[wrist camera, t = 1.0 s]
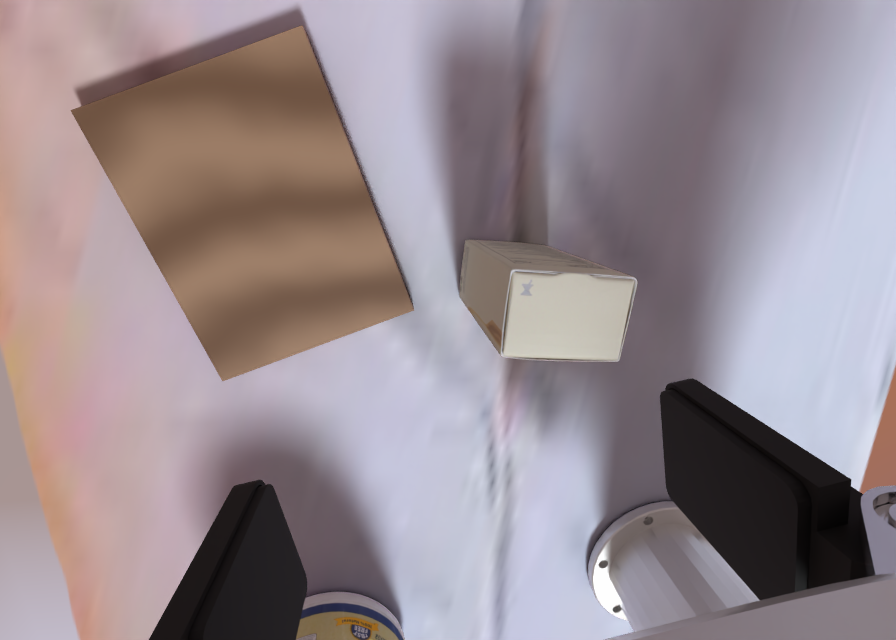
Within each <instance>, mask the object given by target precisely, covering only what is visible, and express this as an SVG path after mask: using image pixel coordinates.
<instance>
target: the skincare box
mask: <svg viewBox="0 0 896 640" xmlns="http://www.w3.org/2000/svg"><path fill="white" fill-rule="evenodd" d="M637 283H638V282H637V279H636V278H635V277H633V276H630V275H628V274H625V273H622V272H619V271H616V270H613V269H611V268H608V267H605V266H602V265H599V264H597V263H594V262H591V261H588V260H586V259H583V258H580V257H577V256H574V255H571V254H569V253H566V252H563V251H560V250H557V249H555V248H552V247H549V246H546V245H539V244H530V243H519V242H506V241H491V240H465V245H464V252H463V260H462V268H461V278H460V293H459V296H460V298H461V300H462V301H463V303H464V304H465V306H466V307H467V308H468V310H469V311H470V312H471V314H472V315H473V317H474V318H475V320H476V321H477V323H478V324H479V325H480V327H481V328H482V330H483V331H484V333H485V334H486V335H487V337H488V338H489V340H490V341H491V342H492V344H493V345H494V347H495V348H496V350H497V351H498V352H499V354H500V355H501V356H502V357H504V358H513V359H524V360H538V361H571V362H618V361H619V360H620V356H621V352H622V347H623V344H624V340H625V336H626V332H627V328H628V324H629V319H630V315H631V311H632V306H633V302H634V297H635V293H636V288H637Z"/></svg>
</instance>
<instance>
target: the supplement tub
mask: <svg viewBox="0 0 896 640" xmlns="http://www.w3.org/2000/svg"><path fill="white" fill-rule="evenodd" d="M296 640H405V638H404V634H403V631H402V628H401V626H400V624H399V622H398V620H397V619H396V618H395V616H394V615H393V614H392V613H391V612H390V611H389V610H388V609H387V608H386V607H385V606H383V605H382V604H380V603H379V602H377V601H375V600H373V599H371V598H369V597H366V596H363V595H360V594H356V593H350V592H327V593H321V594H316V595H313V596H310V597H307V598H305V601H304V605H303V610H302V614H301V619H300V623H299V628H298V632H297V636H296Z"/></svg>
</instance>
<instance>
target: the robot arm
mask: <svg viewBox="0 0 896 640" xmlns="http://www.w3.org/2000/svg"><path fill="white" fill-rule="evenodd" d="M660 403H661V418H662V433H663V448H664V463H665V478H666V488H667V491H668V494H669V496H670V498H671V499H672V501H663V502H657V503H651V504H648V505H645V506H642V507H639V508H636V509H634V510H632V511H630V512H628V513H626V514H625V515H623V516H622V517H621V518H619V519H618V520H616V521H615V522H614V523H613V524H612V525H611V526H610V527H609V528H608V529H607V530H606V531H605V532H604V533H603V534H602V536H601V537H600V538H599V540H598V541H597V543H596V545H595V547H594V549H593V551H592V553H591V556H590V560H589V564H588V577H589V582H590V586H591V588H592V590H593V592H594V595H595V597H596V598H597V600H598V602H599V603H600V605H601V606H602V607H603V608H604V609H605V610H606V611H607V612H609V613H610V614H612V615H614V616H616V617H617V618H620V619H623V620H626V621H629V623H630V625H631V627H632V629H633V631H634V632H632V633H628V634H624V635H620V636H616V637H613V638H609V639H605V640H896V486H883V487H876V488H873V489H871V490H868V491H867V492H865V493H864V494H862V493H860V492H859V491H857V490H856V489H854V488H853V487H851V479H850V478H848V477H846V476H845V475H843V474H842V473H840V472H839V471H837V470H836V469H834V468H832V467H831V466H829V465H828V464H826V463H825V462H823V461H822V460H820V459H818V458H817V457H815V456H814V455H812V454H811V453H809V452H807V451H806V450H804V449H803V448H801V447H800V446H798V445H797V444H795V443H793V442H792V441H790V440H789V439H787V438H786V437H784V436H783V435H781V434H779V433H778V432H776V431H775V430H773V429H772V428H770V427H769V426H767V425H765V424H764V423H762V422H761V421H759V420H758V419H756V418H755V417H753V416H751V415H750V414H748V413H747V412H745V411H744V410H742V409H741V408H739V407H737V406H736V405H734V404H733V403H731V402H730V401H728V400H727V399H725V398H723V397H722V396H720V395H719V394H717V393H716V392H714V391H712V390H711V389H709V388H708V387H706V386H705V385H703V384H702V383H700V382H698V381H697V380H695V379H687V380H683V381H679V382H674V383H670V384H668V385H667V386H666V391H663V392H662V393H661V395H660ZM306 592H307V579H306V574H305V571H304V568H303V566H302V563H301V560H300V557H299V555H298V552H297V549H296V547H295V544H294V541H293V539H292V536H291V533H290V530H289V528H288V525H287V522H286V520H285V517H284V514H283V512H282V509H281V506H280V503H279V501H278V498H277V495H276V493H275V490H274V488H273V486H272V485H271V484H268V485H265V483H264V482H263V481H262V480H257V481H252V482H248V483H244V484H240V485H236V486H234V487H233V488H232V490H231V492H230V493H229V495H228V497H227V499H226V501H225V503H224V504H223V506H222V508H221V510H220V512H219V513H218V515H217V517H216V519H215V521H214V522H213V524H212V526H211V528H210V530H209V532H208V533H207V535H206V537H205V539H204V541H203V542H202V544H201V546H200V548H199V550H198V551H197V553H196V555H195V557H194V559H193V561H192V562H191V564H190V566H189V568H188V570H187V571H186V573H185V575H184V577H183V579H182V580H181V582H180V584H179V586H178V588H177V590H176V591H175V593H174V595H173V597H172V599H171V600H170V602H169V604H168V606H167V608H166V609H165V611H164V613H163V615H162V617H161V619H160V620H159V622H158V624H157V626H156V628H155V629H154V631H153V633H152V635H151V637H150V639H149V640H296V636H297V632H298V628H299V623H300V619H301V614H302V610H303V605H304V601H305V597H306Z"/></svg>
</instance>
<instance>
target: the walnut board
mask: <svg viewBox="0 0 896 640" xmlns="http://www.w3.org/2000/svg"><path fill="white" fill-rule="evenodd" d="M71 112H72V114H73V115H74V117H75V119H76V121H77V123H78V124H79V126H80V128H81V130H82V131H83V133H84V135H85V137H86V139H87V140H88V142H89V144H90V146H91V148H92V149H93V151H94V153H95V155H96V156H97V158H98V160H99V162H100V164H101V165H102V167H103V169H104V171H105V172H106V174H107V176H108V178H109V180H110V181H111V183H112V185H113V187H114V189H115V190H116V192H117V194H118V196H119V197H120V199H121V201H122V203H123V205H124V206H125V208H126V210H127V212H128V213H129V215H130V217H131V219H132V221H133V222H134V224H135V226H136V228H137V230H138V231H139V233H140V235H141V237H142V238H143V240H144V242H145V244H146V246H147V247H148V249H149V251H150V253H151V254H152V256H153V258H154V260H155V262H156V263H157V265H158V267H159V269H160V271H161V272H162V274H163V276H164V278H165V279H166V281H167V283H168V285H169V287H170V288H171V290H172V292H173V294H174V295H175V297H176V299H177V301H178V303H179V304H180V306H181V308H182V310H183V312H184V313H185V315H186V317H187V319H188V320H189V322H190V324H191V326H192V328H193V329H194V331H195V333H196V335H197V336H198V338H199V340H200V342H201V344H202V345H203V347H204V349H205V351H206V353H207V354H208V356H209V358H210V360H211V361H212V363H213V365H214V367H215V369H216V370H217V372H218V374H219V376H220V377H221V379H222V381H225V380H227V379H230V378H233V377H236V376H238V375H241V374H244V373H246V372H249V371H252V370H254V369H257V368H260V367H262V366H265V365H268V364H271V363H273V362H276V361H279V360H281V359H284V358H287V357H289V356H292V355H295V354H297V353H300V352H303V351H306V350H308V349H311V348H314V347H316V346H319V345H322V344H324V343H327V342H330V341H332V340H335V339H338V338H341V337H343V336H346V335H349V334H351V333H354V332H357V331H359V330H362V329H365V328H367V327H370V326H373V325H376V324H378V323H381V322H384V321H386V320H389V319H392V318H394V317H397V316H400V315H402V314H405V313H408V312H411V311H413V310H414V307H413V304H412V301H411V299H410V296H409V294H408V291H407V288H406V286H405V283H404V281H403V278H402V276H401V273H400V271H399V268H398V265H397V263H396V260H395V258H394V255H393V253H392V250H391V248H390V245H389V242H388V240H387V237H386V235H385V232H384V230H383V227H382V225H381V222H380V219H379V217H378V214H377V212H376V209H375V207H374V204H373V202H372V199H371V196H370V194H369V191H368V189H367V186H366V184H365V181H364V179H363V176H362V173H361V171H360V168H359V166H358V163H357V161H356V158H355V156H354V153H353V151H352V148H351V145H350V143H349V140H348V138H347V135H346V133H345V130H344V128H343V125H342V122H341V120H340V117H339V115H338V112H337V110H336V107H335V105H334V102H333V99H332V97H331V94H330V92H329V89H328V87H327V84H326V82H325V79H324V76H323V74H322V71H321V69H320V66H319V64H318V61H317V59H316V56H315V53H314V51H313V48H312V46H311V43H310V41H309V38H308V36H307V33H306V31H305V29H304V28H303V26H302V25H301V26H299V27H296V28H293V29H290V30H288V31H285V32H282V33H280V34H277V35H274V36H271V37H269V38H266V39H263V40H261V41H258V42H255V43H252V44H250V45H247V46H244V47H242V48H239V49H236V50H233V51H231V52H228V53H225V54H223V55H220V56H217V57H214V58H212V59H209V60H206V61H204V62H201V63H198V64H195V65H193V66H190V67H187V68H185V69H182V70H179V71H176V72H174V73H171V74H168V75H166V76H163V77H160V78H157V79H155V80H152V81H149V82H146V83H144V84H141V85H138V86H136V87H133V88H130V89H127V90H125V91H122V92H119V93H117V94H114V95H111V96H108V97H106V98H103V99H100V100H98V101H95V102H92V103H89V104H87V105H84V106H81V107H79V108H76V109H73V110H71Z"/></svg>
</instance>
